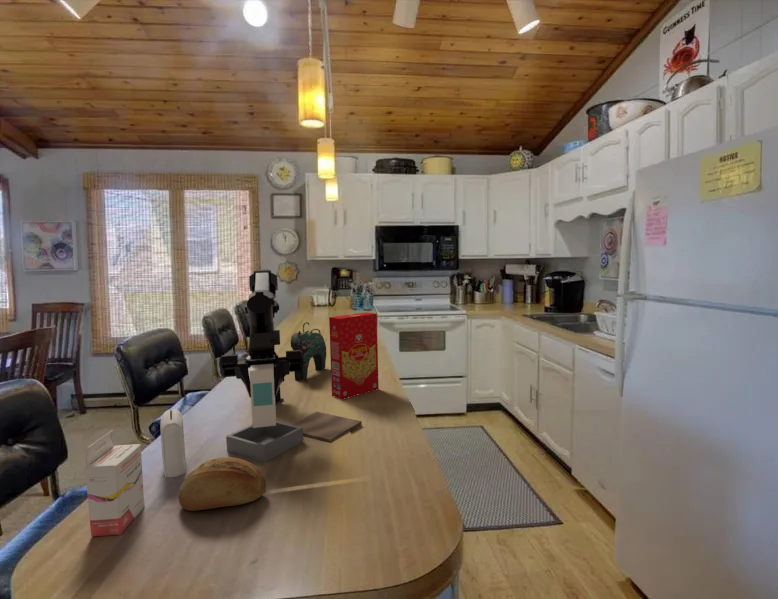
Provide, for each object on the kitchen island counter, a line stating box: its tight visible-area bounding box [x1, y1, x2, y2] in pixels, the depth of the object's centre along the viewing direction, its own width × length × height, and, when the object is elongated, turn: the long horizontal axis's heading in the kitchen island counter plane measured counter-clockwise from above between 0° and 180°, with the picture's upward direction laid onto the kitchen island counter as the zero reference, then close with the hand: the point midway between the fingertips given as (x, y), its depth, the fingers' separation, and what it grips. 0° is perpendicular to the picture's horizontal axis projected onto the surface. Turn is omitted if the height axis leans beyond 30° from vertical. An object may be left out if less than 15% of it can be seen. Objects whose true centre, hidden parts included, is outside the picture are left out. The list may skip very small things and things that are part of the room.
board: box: [289, 411, 363, 443], centre depth 113 cm, size 15×13×1 cm
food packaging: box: [328, 311, 380, 400], centre depth 141 cm, size 15×5×25 cm, turn 131°
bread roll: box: [178, 456, 267, 512], centre depth 80 cm, size 10×15×8 cm, turn 102°
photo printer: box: [159, 408, 187, 478], centre depth 93 cm, size 10×4×12 cm, turn 26°
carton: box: [249, 364, 277, 428], centre depth 101 cm, size 5×5×13 cm
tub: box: [225, 420, 304, 463], centre depth 102 cm, size 12×12×4 cm
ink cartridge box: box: [84, 429, 145, 537], centre depth 75 cm, size 9×5×15 cm, turn 5°
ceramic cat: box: [290, 321, 327, 381], centre depth 165 cm, size 20×6×20 cm, turn 160°
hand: (263, 395), depth 100 cm, fingers closed on carton, 5 cm apart
